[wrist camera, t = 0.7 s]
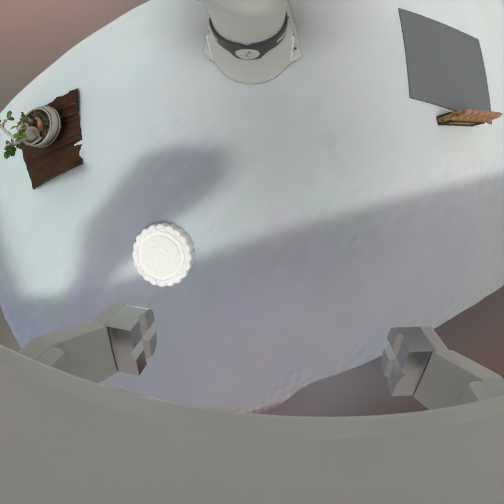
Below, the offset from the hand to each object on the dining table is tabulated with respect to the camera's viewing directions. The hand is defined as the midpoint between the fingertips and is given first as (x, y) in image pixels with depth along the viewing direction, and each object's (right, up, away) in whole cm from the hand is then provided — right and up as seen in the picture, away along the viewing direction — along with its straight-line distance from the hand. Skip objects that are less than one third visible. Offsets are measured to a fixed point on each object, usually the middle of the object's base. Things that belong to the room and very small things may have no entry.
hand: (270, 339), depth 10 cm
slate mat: (+44, +45, +36) cm, 72 cm away
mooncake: (-17, +3, +48) cm, 51 cm away
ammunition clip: (+43, +31, +39) cm, 66 cm away
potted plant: (-45, +27, +43) cm, 68 cm away
